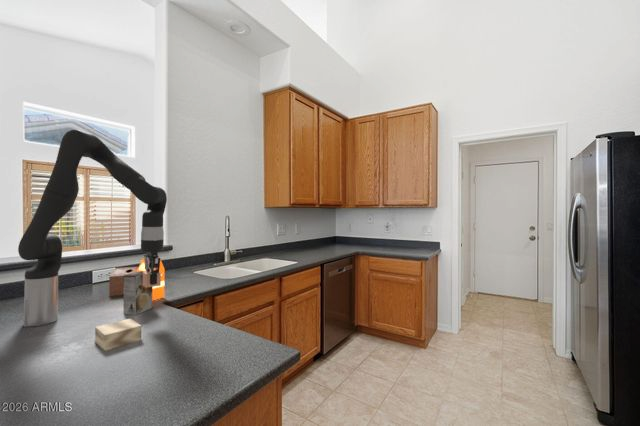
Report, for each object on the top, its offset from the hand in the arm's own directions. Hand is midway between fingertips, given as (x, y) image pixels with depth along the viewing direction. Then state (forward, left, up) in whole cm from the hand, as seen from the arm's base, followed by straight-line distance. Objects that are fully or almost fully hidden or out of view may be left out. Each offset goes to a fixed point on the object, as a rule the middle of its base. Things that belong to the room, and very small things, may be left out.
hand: (151, 282), depth 111 cm
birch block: (-12, -11, -15) cm, 23 cm away
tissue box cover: (+3, +63, -16) cm, 65 cm away
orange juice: (+7, +33, -15) cm, 37 cm away
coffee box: (-1, +18, -15) cm, 24 cm away
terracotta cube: (0, 0, -1) cm, 1 cm away
